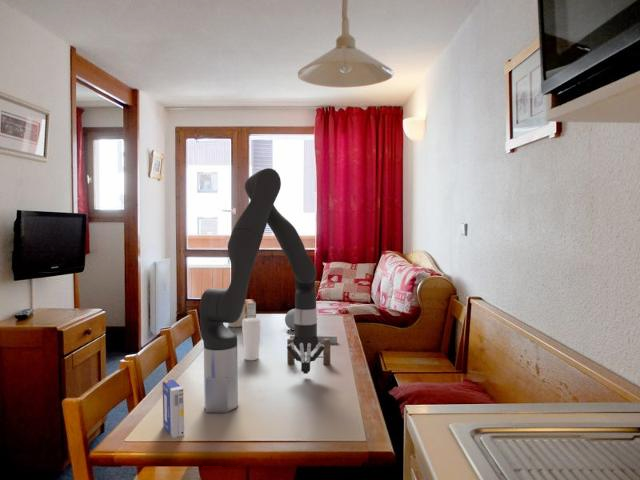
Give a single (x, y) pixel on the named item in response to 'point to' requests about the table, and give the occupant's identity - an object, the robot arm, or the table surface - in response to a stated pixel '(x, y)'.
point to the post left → (289, 356)
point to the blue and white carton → (173, 408)
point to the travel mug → (239, 321)
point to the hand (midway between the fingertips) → (305, 372)
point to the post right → (326, 352)
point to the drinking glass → (251, 337)
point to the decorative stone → (290, 319)
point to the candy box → (250, 308)
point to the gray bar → (320, 337)
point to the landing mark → (311, 352)
